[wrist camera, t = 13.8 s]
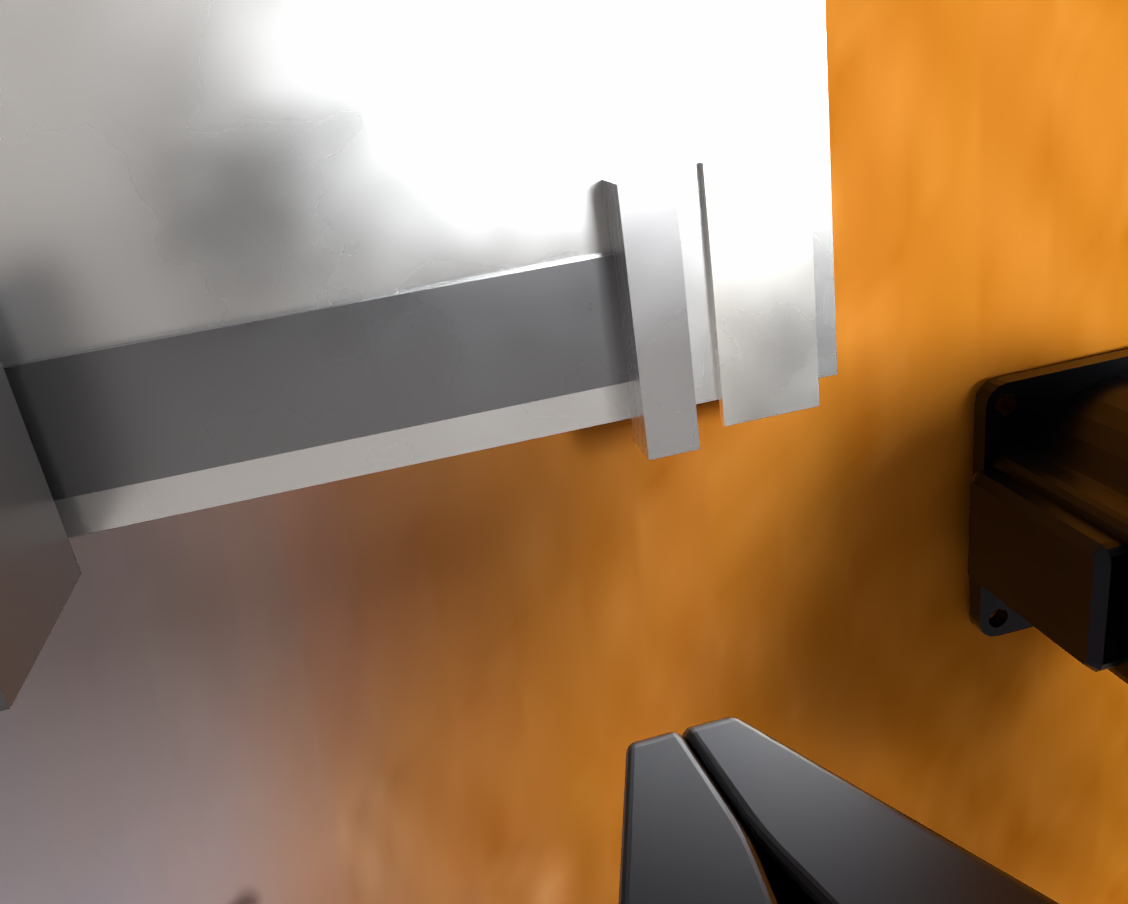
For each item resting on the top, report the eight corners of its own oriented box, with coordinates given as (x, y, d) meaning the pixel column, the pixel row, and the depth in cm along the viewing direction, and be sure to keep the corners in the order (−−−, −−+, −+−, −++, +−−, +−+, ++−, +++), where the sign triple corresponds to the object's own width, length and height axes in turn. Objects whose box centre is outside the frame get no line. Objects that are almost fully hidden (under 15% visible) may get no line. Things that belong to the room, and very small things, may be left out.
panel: (766, -629, 14) (836, -745, 12) (810, 380, 20) (862, 413, 18) (-1017, -551, 11) (-1318, -691, 9) (-334, 624, 17) (-424, 695, 15)
